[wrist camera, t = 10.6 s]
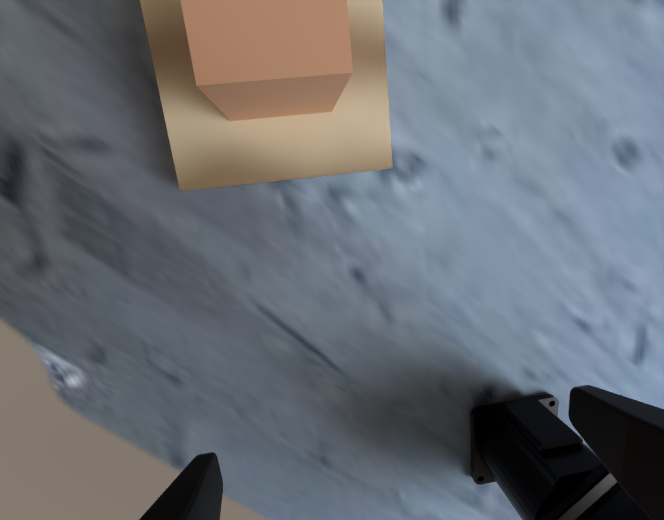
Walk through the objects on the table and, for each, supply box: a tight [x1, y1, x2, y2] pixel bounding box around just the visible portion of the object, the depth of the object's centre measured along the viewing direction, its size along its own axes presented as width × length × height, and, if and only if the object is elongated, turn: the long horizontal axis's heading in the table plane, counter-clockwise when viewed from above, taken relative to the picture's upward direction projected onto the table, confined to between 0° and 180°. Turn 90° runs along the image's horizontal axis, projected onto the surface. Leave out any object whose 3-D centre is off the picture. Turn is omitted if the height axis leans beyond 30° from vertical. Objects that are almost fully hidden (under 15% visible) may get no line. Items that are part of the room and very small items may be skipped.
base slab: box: [140, 0, 392, 191], centre depth 17 cm, size 11×11×2 cm
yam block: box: [180, 0, 353, 121], centre depth 13 cm, size 5×5×6 cm
